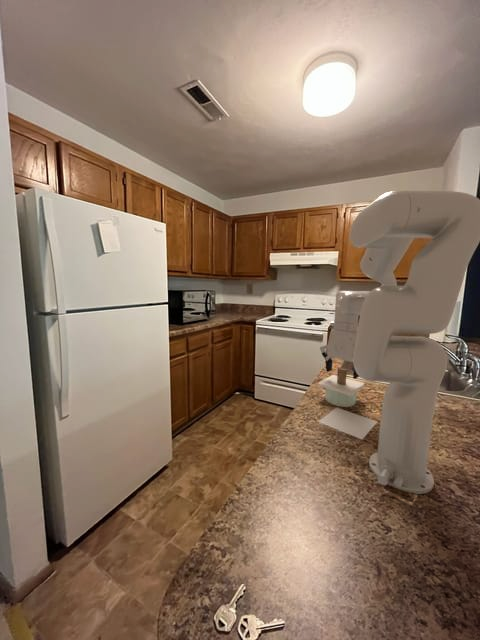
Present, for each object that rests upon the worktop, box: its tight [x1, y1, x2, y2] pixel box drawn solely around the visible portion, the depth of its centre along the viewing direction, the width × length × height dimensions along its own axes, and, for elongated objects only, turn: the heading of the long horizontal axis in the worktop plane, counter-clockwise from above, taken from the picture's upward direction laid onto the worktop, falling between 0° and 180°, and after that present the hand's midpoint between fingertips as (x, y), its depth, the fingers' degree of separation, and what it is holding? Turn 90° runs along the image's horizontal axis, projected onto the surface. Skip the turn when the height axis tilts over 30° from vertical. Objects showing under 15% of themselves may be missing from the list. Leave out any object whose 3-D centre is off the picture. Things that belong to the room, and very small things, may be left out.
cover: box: [317, 367, 366, 396], centre depth 95 cm, size 12×12×6 cm
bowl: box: [324, 388, 358, 408], centre depth 96 cm, size 10×10×6 cm
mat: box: [317, 406, 378, 440], centre depth 82 cm, size 13×13×1 cm
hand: (341, 374), depth 95 cm, fingers open, 9 cm apart
